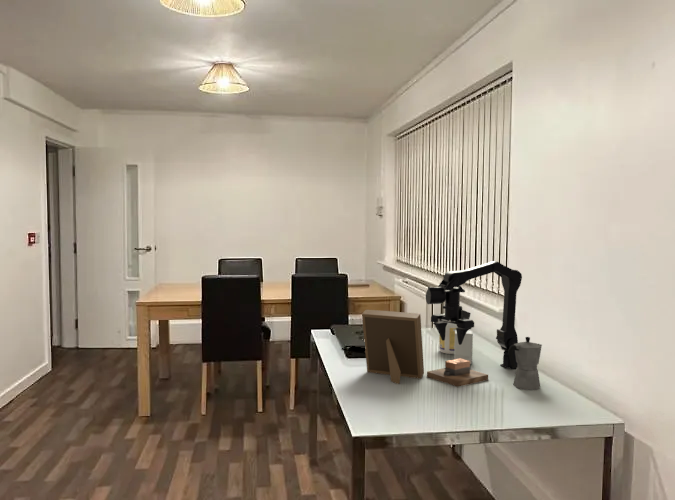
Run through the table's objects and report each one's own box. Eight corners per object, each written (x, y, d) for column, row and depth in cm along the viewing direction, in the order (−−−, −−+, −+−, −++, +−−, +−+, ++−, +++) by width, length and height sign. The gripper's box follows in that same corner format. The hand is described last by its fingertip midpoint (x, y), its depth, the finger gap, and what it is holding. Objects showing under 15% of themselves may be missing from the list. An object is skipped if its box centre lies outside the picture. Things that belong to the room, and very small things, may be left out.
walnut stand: (456, 370, 231) (456, 365, 231) (488, 379, 217) (488, 374, 217) (426, 376, 222) (427, 371, 222) (457, 386, 208) (457, 381, 208)
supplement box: (472, 364, 241) (473, 333, 240) (454, 363, 242) (454, 333, 242) (472, 359, 248) (472, 330, 248) (454, 358, 250) (454, 329, 249)
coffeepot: (530, 380, 216) (532, 333, 215) (550, 387, 208) (551, 337, 207) (498, 386, 210) (499, 336, 209) (517, 393, 201) (518, 341, 200)
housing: (469, 372, 220) (470, 360, 219) (450, 377, 214) (451, 364, 214) (460, 370, 224) (460, 358, 224) (441, 373, 218) (441, 361, 218)
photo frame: (371, 369, 232) (371, 307, 230) (424, 375, 223) (424, 311, 221) (356, 379, 219) (356, 313, 217) (412, 386, 210) (412, 317, 208)
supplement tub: (470, 350, 265) (471, 314, 264) (460, 356, 254) (461, 318, 253) (445, 347, 271) (445, 311, 270) (434, 352, 261) (435, 315, 260)
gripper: (484, 304, 227) (483, 344, 228) (449, 299, 242) (449, 336, 243) (464, 307, 221) (463, 347, 222) (430, 301, 236) (429, 339, 237)
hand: (451, 342), depth 231 cm, fingers open, 9 cm apart
